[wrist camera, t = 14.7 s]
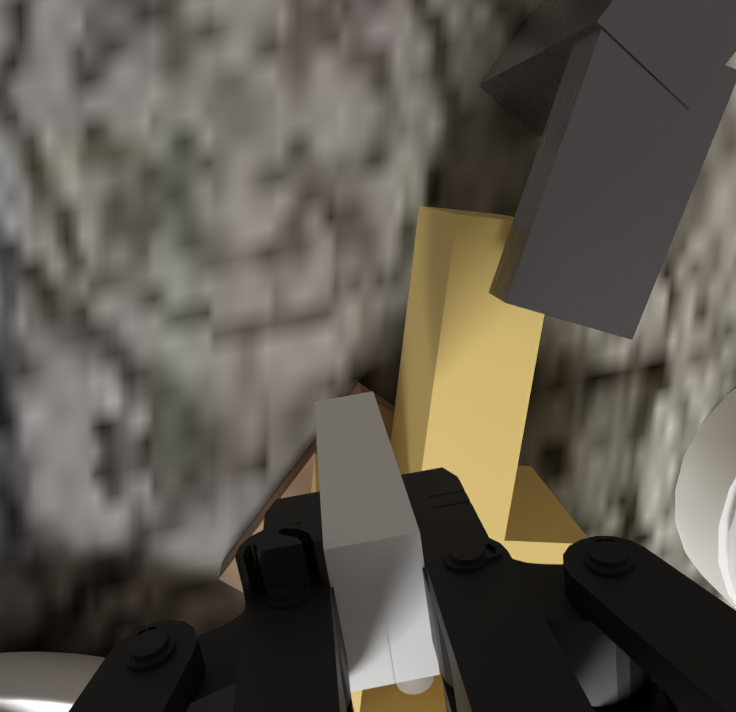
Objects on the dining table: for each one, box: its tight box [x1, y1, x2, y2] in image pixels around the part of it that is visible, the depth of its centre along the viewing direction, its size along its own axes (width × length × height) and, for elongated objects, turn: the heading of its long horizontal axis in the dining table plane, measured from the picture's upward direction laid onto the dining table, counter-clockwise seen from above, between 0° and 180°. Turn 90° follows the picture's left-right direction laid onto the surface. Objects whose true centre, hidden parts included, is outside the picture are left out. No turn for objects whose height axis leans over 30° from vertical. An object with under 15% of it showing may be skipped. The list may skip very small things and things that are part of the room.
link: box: [311, 206, 587, 712], centre depth 23 cm, size 19×9×6 cm, turn 174°
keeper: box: [479, 0, 736, 339], centre depth 20 cm, size 9×6×10 cm, turn 143°
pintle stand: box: [219, 382, 434, 695], centre depth 24 cm, size 10×10×9 cm
